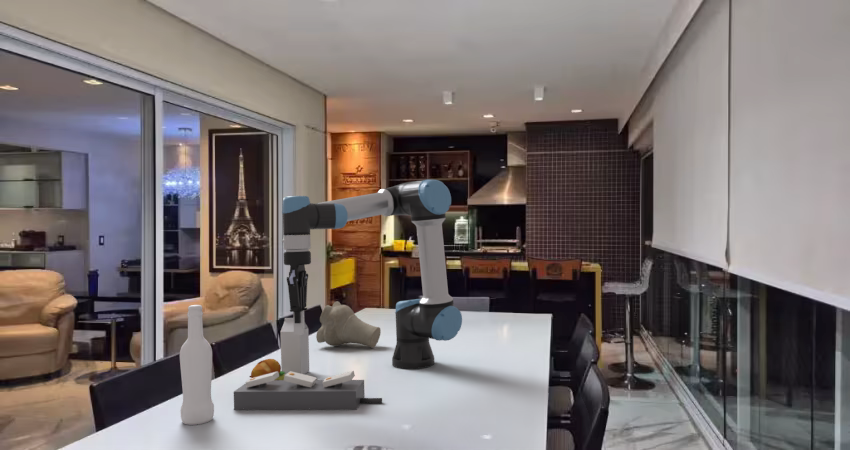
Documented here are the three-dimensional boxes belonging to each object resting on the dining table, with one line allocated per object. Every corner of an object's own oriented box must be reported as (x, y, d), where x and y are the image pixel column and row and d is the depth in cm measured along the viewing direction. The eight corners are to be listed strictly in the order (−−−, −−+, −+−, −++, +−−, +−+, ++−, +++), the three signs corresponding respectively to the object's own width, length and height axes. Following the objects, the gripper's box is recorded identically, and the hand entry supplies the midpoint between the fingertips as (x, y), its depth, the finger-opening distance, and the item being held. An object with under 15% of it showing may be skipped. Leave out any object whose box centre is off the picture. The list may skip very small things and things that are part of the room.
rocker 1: (279, 376, 170) (277, 370, 170) (273, 380, 165) (271, 374, 165) (253, 383, 171) (251, 377, 171) (246, 387, 166) (245, 382, 166)
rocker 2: (315, 382, 170) (317, 377, 170) (311, 387, 165) (312, 381, 165) (289, 376, 170) (290, 370, 170) (283, 380, 165) (284, 374, 165)
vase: (400, 313, 251) (342, 295, 260) (381, 311, 231) (319, 293, 240) (386, 363, 249) (329, 344, 259) (366, 366, 229) (304, 345, 238)
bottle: (186, 416, 158) (183, 303, 158) (217, 414, 159) (215, 302, 159) (176, 426, 150) (173, 307, 150) (209, 424, 151) (206, 306, 151)
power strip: (385, 397, 171) (384, 376, 171) (378, 409, 159) (377, 388, 159) (250, 397, 175) (250, 377, 175) (234, 409, 163) (233, 388, 163)
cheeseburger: (293, 383, 189) (289, 354, 187) (275, 401, 179) (270, 370, 177) (266, 381, 192) (261, 352, 190) (247, 398, 182) (241, 368, 180)
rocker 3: (354, 375, 169) (353, 370, 169) (351, 380, 164) (349, 374, 164) (328, 382, 169) (326, 377, 169) (323, 387, 164) (322, 381, 164)
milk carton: (301, 376, 198) (299, 319, 198) (281, 376, 199) (280, 319, 200) (309, 371, 205) (308, 316, 205) (290, 371, 206) (289, 316, 206)
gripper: (291, 250, 174) (293, 330, 174) (276, 251, 161) (278, 338, 161) (316, 249, 174) (318, 330, 174) (303, 251, 161) (305, 338, 161)
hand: (299, 334), depth 167 cm, fingers closed
